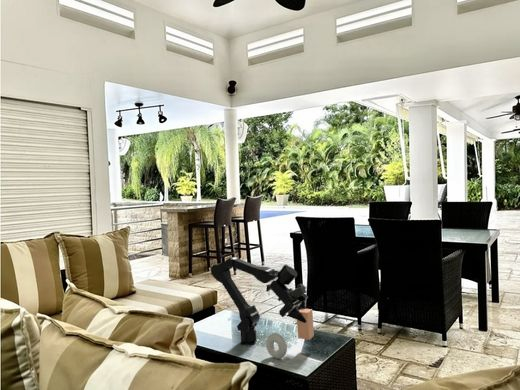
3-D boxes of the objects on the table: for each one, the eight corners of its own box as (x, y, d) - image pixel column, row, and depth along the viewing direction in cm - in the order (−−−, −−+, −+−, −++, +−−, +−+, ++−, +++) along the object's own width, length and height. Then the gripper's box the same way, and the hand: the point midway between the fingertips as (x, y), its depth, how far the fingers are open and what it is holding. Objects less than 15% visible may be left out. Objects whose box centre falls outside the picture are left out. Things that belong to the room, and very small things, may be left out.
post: (298, 338, 166) (296, 311, 166) (302, 334, 171) (301, 308, 171) (309, 339, 164) (307, 312, 164) (313, 335, 168) (312, 309, 168)
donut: (264, 357, 163) (263, 332, 163) (270, 354, 165) (268, 329, 165) (284, 362, 156) (282, 336, 156) (289, 359, 159) (288, 334, 159)
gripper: (284, 284, 161) (311, 314, 156) (302, 274, 177) (327, 301, 172) (268, 302, 165) (294, 332, 159) (287, 291, 181) (311, 318, 176)
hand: (308, 320), depth 167 cm, fingers closed on post, 5 cm apart
